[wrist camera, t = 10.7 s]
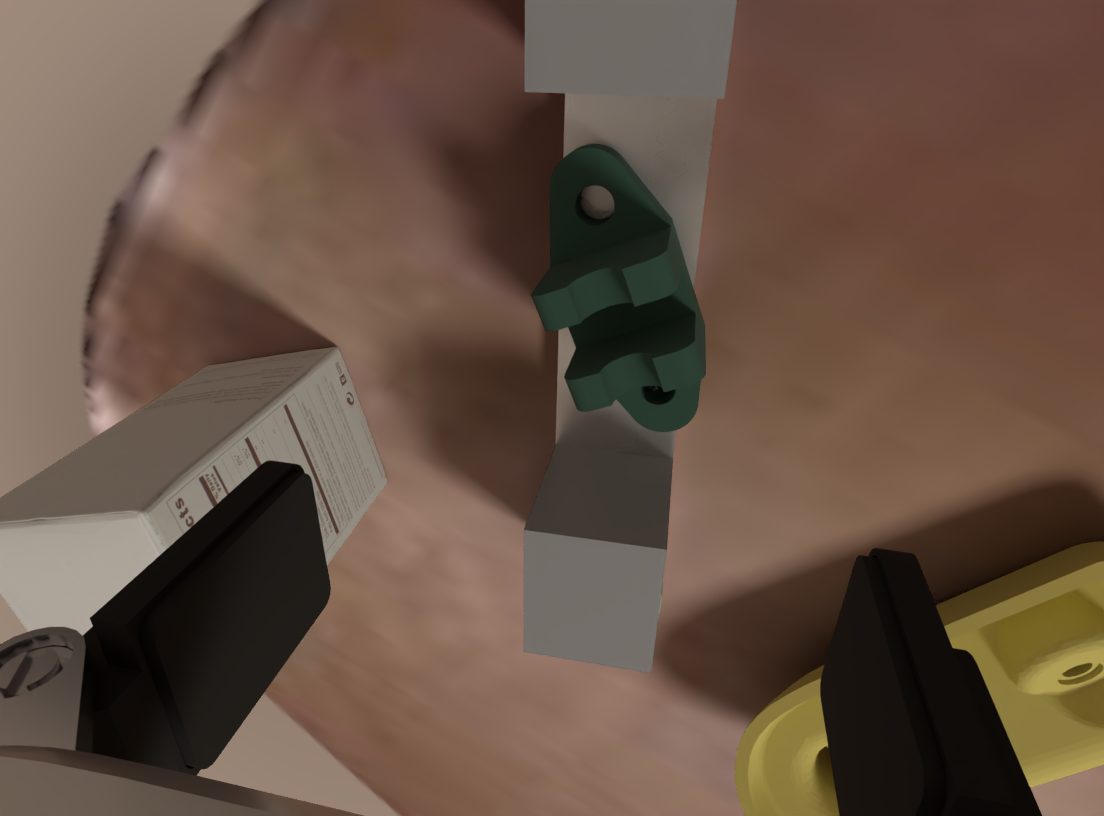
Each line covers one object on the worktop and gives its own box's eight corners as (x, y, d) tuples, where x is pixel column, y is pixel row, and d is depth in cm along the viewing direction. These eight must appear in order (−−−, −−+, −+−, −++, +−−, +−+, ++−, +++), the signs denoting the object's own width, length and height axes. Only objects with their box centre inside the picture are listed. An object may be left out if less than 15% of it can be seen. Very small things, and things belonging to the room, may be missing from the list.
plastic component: (1164, 534, 24) (1359, 798, 22) (1092, 498, 31) (1239, 699, 29) (694, 729, 31) (816, 941, 29) (720, 665, 38) (820, 835, 36)
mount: (728, 403, 27) (734, 470, 22) (621, 429, 28) (606, 497, 24) (643, 121, 23) (629, 136, 18) (523, 169, 24) (483, 194, 20)
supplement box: (265, 492, 35) (63, 695, 24) (205, 361, 32) (-60, 523, 21) (394, 483, 33) (239, 699, 22) (344, 342, 30) (134, 510, 19)
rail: (746, -141, 20) (747, -148, 19) (660, 558, 32) (659, 569, 31) (576, -137, 20) (571, -144, 20) (555, 543, 32) (552, 553, 32)
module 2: (674, 458, 28) (668, 550, 23) (660, 569, 31) (652, 673, 26) (554, 444, 29) (522, 529, 24) (551, 553, 32) (522, 651, 27)
